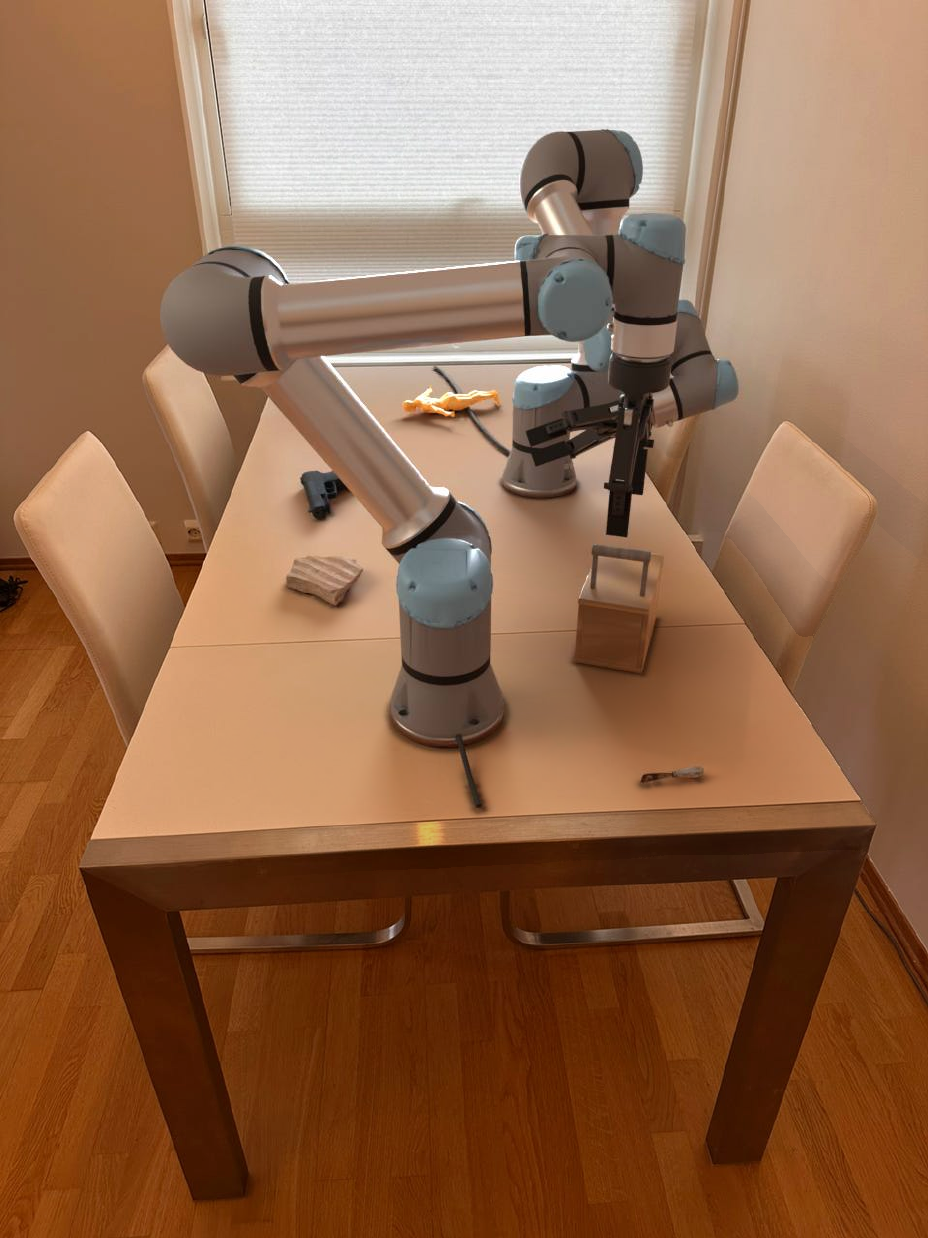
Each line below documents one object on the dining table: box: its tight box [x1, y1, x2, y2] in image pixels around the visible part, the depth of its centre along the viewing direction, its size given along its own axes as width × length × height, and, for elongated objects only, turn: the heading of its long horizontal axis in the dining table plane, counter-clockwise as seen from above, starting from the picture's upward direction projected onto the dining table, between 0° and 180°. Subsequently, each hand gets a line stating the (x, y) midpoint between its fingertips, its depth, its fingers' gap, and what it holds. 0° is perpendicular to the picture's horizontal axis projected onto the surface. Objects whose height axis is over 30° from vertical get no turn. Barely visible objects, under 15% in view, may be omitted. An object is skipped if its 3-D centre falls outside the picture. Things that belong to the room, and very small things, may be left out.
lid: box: [577, 543, 665, 615], centre depth 128 cm, size 16×10×8 cm, turn 162°
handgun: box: [299, 470, 349, 520], centre depth 179 cm, size 3×18×12 cm
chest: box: [574, 562, 664, 674], centre depth 133 cm, size 16×10×10 cm, turn 162°
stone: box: [284, 555, 364, 606], centre depth 150 cm, size 13×12×2 cm
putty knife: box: [640, 765, 705, 784], centre depth 109 cm, size 1×8×2 cm, turn 103°
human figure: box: [402, 385, 500, 418], centre depth 225 cm, size 20×20×4 cm
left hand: (625, 513), depth 120 cm, fingers open, 13 cm apart
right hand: (530, 449), depth 157 cm, fingers open, 13 cm apart
